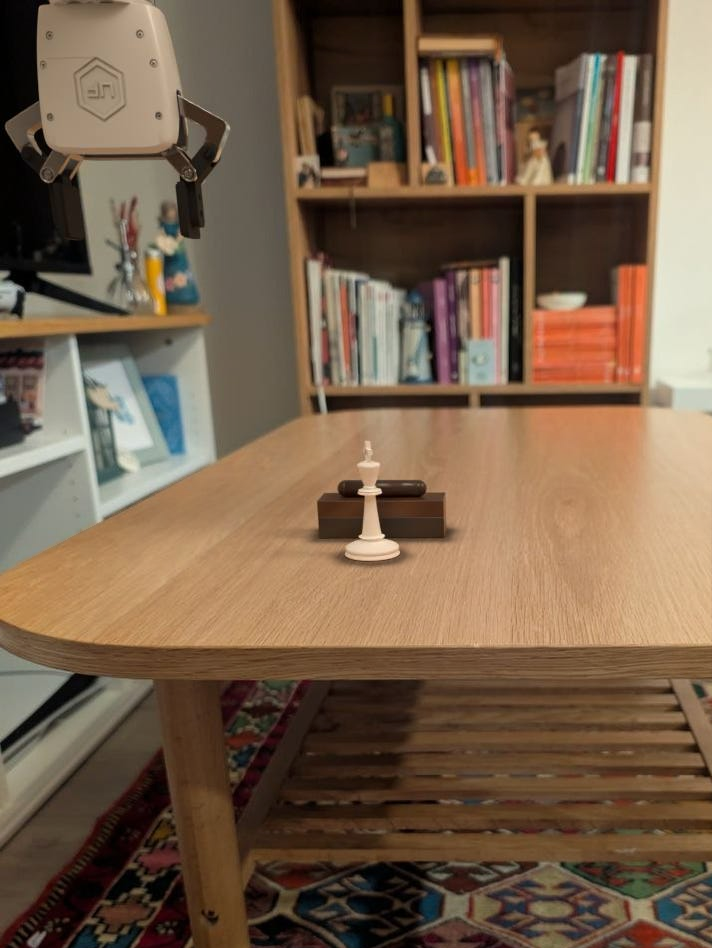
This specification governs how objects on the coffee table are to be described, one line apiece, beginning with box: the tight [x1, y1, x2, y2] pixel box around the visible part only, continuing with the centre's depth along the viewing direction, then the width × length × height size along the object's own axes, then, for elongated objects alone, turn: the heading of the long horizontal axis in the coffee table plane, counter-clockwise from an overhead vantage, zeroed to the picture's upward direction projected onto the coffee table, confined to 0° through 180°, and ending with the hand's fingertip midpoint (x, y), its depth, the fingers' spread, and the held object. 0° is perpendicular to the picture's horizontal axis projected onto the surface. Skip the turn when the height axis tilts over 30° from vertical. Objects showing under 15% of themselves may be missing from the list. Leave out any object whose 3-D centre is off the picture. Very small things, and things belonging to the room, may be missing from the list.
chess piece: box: [344, 440, 401, 562], centre depth 83 cm, size 5×5×10 cm
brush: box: [316, 479, 447, 539], centre depth 91 cm, size 12×4×5 cm, turn 89°
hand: (131, 238), depth 77 cm, fingers open, 9 cm apart
